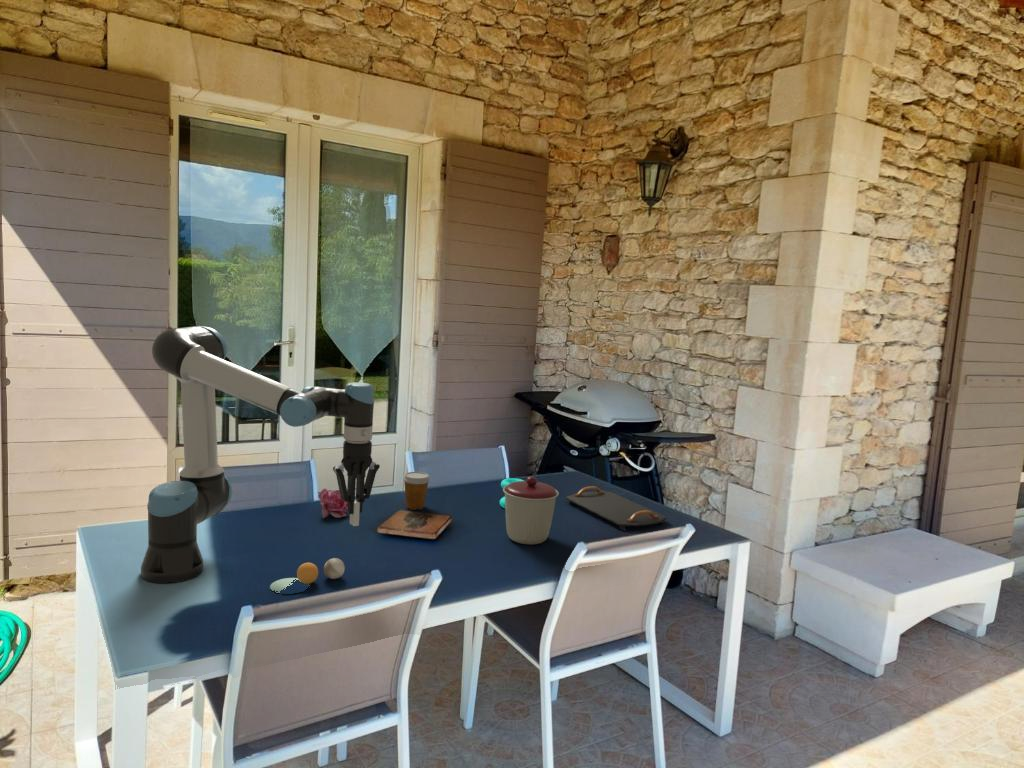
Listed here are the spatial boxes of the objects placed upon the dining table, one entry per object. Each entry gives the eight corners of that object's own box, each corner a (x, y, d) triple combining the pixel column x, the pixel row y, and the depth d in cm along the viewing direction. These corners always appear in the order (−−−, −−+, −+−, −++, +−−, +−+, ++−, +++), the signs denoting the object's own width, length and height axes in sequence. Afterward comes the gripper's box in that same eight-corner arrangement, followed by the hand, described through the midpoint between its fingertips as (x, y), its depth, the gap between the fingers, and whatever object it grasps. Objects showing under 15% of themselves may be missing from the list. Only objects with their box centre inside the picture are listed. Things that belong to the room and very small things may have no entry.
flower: (350, 524, 245) (352, 506, 239) (321, 528, 241) (322, 510, 235) (345, 497, 253) (347, 480, 246) (316, 501, 249) (317, 483, 242)
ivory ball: (342, 560, 198) (330, 577, 196) (329, 551, 194) (316, 568, 193) (352, 568, 194) (339, 585, 192) (338, 559, 190) (325, 577, 189)
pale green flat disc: (264, 583, 188) (264, 582, 188) (301, 575, 194) (301, 575, 194) (277, 598, 180) (277, 597, 180) (315, 589, 186) (315, 589, 186)
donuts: (499, 477, 268) (525, 477, 270) (497, 502, 270) (523, 503, 272) (503, 484, 259) (530, 485, 260) (501, 511, 260) (528, 511, 262)
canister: (529, 554, 221) (534, 488, 218) (488, 537, 233) (492, 474, 230) (565, 541, 234) (571, 479, 231) (524, 525, 246) (529, 466, 243)
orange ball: (301, 583, 192) (289, 570, 189) (317, 568, 194) (305, 555, 191) (309, 591, 187) (297, 578, 185) (325, 575, 189) (313, 562, 187)
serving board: (673, 527, 257) (674, 510, 256) (623, 535, 245) (625, 518, 244) (605, 496, 290) (606, 481, 289) (558, 502, 278) (560, 486, 277)
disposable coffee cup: (415, 501, 264) (417, 469, 263) (433, 507, 258) (435, 475, 257) (396, 506, 257) (397, 474, 255) (414, 513, 251) (416, 480, 249)
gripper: (340, 445, 185) (337, 532, 188) (386, 441, 193) (382, 525, 196) (329, 439, 191) (326, 523, 194) (373, 435, 199) (369, 516, 202)
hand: (354, 524), depth 195 cm, fingers closed
